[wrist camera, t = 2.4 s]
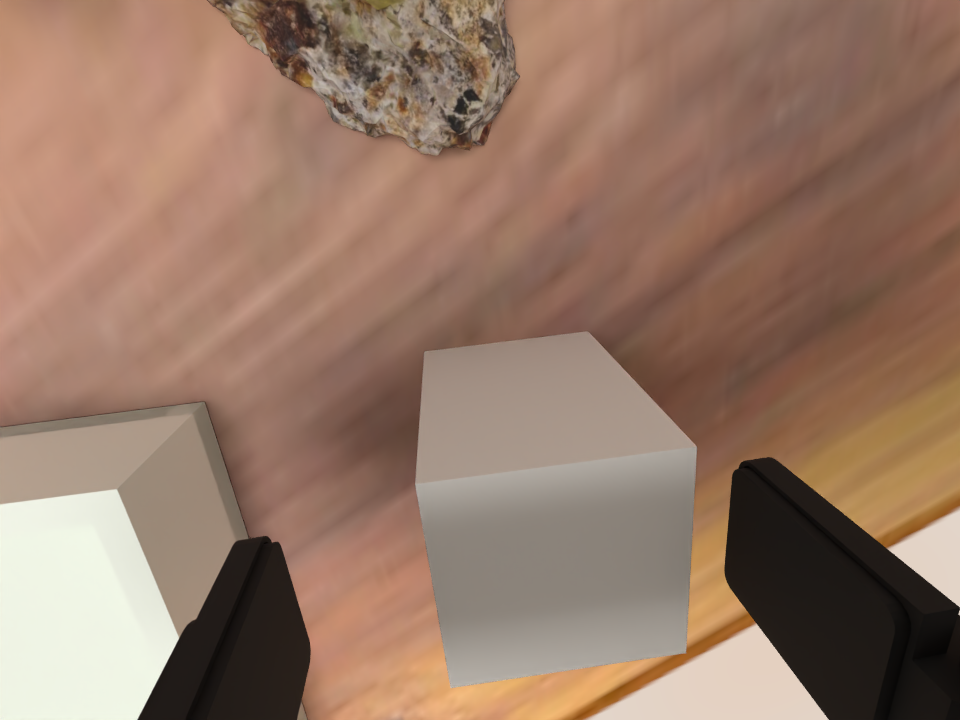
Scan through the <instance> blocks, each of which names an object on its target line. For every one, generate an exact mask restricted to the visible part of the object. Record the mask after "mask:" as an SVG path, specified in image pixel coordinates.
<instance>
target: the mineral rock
mask: <svg viewBox="0 0 960 720" xmlns="http://www.w3.org/2000/svg"><path fill="white" fill-rule="evenodd" d="M207 1H208V2H209V3H210V4H211V5H212V6H213V7H216V8H218V9H219V10H220V11H222V12H223V13H224V14H225V15H226V17H227V18H228V20H229V22H230V23H231V25H232V27H233V28H234V29H235V30H236V31H237V32H238V33H239V34H240V35H243V36H244V37H245V38H246V40H247V43H248V44H249V45H251V46H254V47H256V48H258V49H260V50H261V51H262V52H263V53H264V54H265V55H269V56H270V59H271V61H272V63H273V65H274V66H275V68H276V69H279V70H280V72H281V74H282V75H283V76H286V77H289V79H291V80H293V81H294V82H296V83H298V84H299V85H301V86H303V87H311V88H312V89H313V90H314V91H315V92H316V93H317V94H318V96H319V97H320V98H321V99H322V100H324V102H325V105H326V107H327V110H328V113H329V115H330V116H331V118H332V119H333V121H334V122H336V123H339V124H341V125H343V126H346V127H348V128H350V129H353V130H358V131H364V132H365V134H366V135H367V136H372V137H377V136H380V135H385V134H393V135H395V136H397V137H399V138H400V139H401V140H403V141H404V142H405V143H406V144H407V145H408V146H409V147H412V148H417V149H418V150H419V152H420V153H421V154H430V155H438V154H439V153H440V151H441V150H442V148H443V147H444V148H450V147H458V148H462V149H466V150H470V149H471V146H472V145H484V144H485V142H486V140H487V137H488V134H489V131H490V127H491V124H492V121H493V119H494V117H495V116H496V115H497V114H498V112H499V111H500V108H501V106H502V103H503V101H504V98H505V97H506V96H507V95H508V94H509V93H510V92H511V90H512V88H513V86H514V85H515V83H516V81H517V80H518V79H519V77H520V76H519V75H518V73H517V72H516V71H515V49H514V45H513V40H512V37H511V36H510V35H509V34H508V30H507V26H506V22H505V13H504V1H505V0H207Z"/></svg>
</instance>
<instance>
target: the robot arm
mask: <svg viewBox="0 0 960 720" xmlns="http://www.w3.org/2000/svg"><path fill="white" fill-rule="evenodd" d="M725 577H726V580H727V583H728V585H729V587H730V588H731V590H732V591H733V593H734V594H735V595H736V597H737V598H738V599H739V601H740V602H741V603H742V605H743V606H744V607H745V609H746V610H747V611H748V613H749V614H750V615H751V617H752V618H753V619H754V621H755V622H756V623H757V625H758V626H759V627H760V629H761V630H762V631H763V633H764V634H765V635H766V637H767V638H768V639H769V640H770V642H771V643H772V645H773V646H774V647H775V649H776V650H777V651H778V653H779V654H780V655H781V656H782V658H783V659H784V661H785V662H786V663H787V664H788V666H789V667H790V669H791V670H792V671H793V672H794V674H795V675H796V676H797V678H798V679H799V681H800V682H801V683H802V684H803V686H804V687H805V689H806V690H807V691H808V692H809V694H810V695H811V697H812V698H813V699H814V701H815V702H816V703H817V705H818V706H819V707H820V708H821V710H822V711H823V712H824V714H825V715H826V717H827V718H828V719H829V720H960V615H958V613H959V610H960V607H959V606H957V605H956V604H955V603H953V602H952V601H951V600H950V599H948V598H947V597H946V596H945V595H944V594H942V593H941V592H940V591H939V590H937V589H936V588H935V587H934V586H932V585H931V584H930V583H929V582H927V581H926V580H925V579H924V578H923V577H921V576H920V575H919V574H918V573H916V572H915V571H914V570H912V569H911V568H910V567H909V566H907V565H906V564H905V563H904V562H903V561H901V560H900V559H899V558H898V557H896V556H895V555H894V554H893V553H891V552H890V551H889V550H888V549H886V548H885V547H884V546H883V545H881V544H880V543H879V542H878V541H876V540H875V539H874V538H873V537H872V536H870V535H869V534H868V533H867V532H865V531H864V530H863V529H862V528H860V527H859V526H858V525H857V524H855V523H854V522H853V521H852V520H850V519H849V518H848V517H847V516H845V515H844V514H843V513H842V512H840V511H839V510H838V509H837V508H835V507H834V506H833V505H832V504H830V503H829V502H828V501H827V500H825V499H824V498H823V497H822V496H821V495H819V494H818V493H817V492H816V491H814V490H813V489H812V488H811V487H809V486H808V485H807V484H806V483H804V482H803V481H802V480H801V479H799V478H798V477H797V476H796V475H794V474H793V473H792V472H791V471H789V470H788V469H787V468H786V467H784V466H783V465H782V464H781V463H779V462H778V461H777V460H775V459H774V458H771V457H767V458H760V459H754V460H747V461H743V462H741V464H740V465H739V469H737V470H735V471H734V472H733V475H732V485H731V497H730V509H729V521H728V533H727V545H726V557H725ZM310 655H311V650H310V642H309V638H308V634H307V631H306V628H305V624H304V621H303V618H302V614H301V611H300V608H299V604H298V601H297V598H296V594H295V591H294V588H293V584H292V581H291V578H290V574H289V571H288V568H287V564H286V561H285V557H284V554H283V551H282V548H281V545H280V544H279V542H273V543H272V542H271V540H270V538H269V537H267V536H263V537H256V538H250V539H243V540H238V541H236V542H235V543H234V544H233V546H232V548H231V550H230V552H229V554H228V556H227V558H226V560H225V562H224V564H223V566H222V568H221V570H220V572H219V574H218V576H217V578H216V580H215V582H214V584H213V586H212V588H211V590H210V592H209V594H208V596H207V598H206V600H205V602H204V604H203V606H202V608H201V610H200V612H199V614H198V616H197V618H196V620H192V621H191V622H190V623H189V624H187V626H186V627H185V629H184V630H183V632H182V634H181V635H180V637H179V639H178V641H177V643H176V645H175V647H174V649H173V651H172V653H171V655H170V657H169V659H168V661H167V663H166V665H165V667H164V669H163V671H162V673H161V675H160V676H159V678H158V680H157V682H156V684H155V686H154V688H153V690H152V692H151V694H150V696H149V698H148V700H147V702H146V704H145V706H144V708H143V710H142V712H141V714H140V715H139V717H138V719H137V720H297V718H298V713H299V709H300V704H301V700H302V695H303V691H304V686H305V682H306V677H307V672H308V668H309V663H310Z"/></svg>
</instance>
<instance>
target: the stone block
mask: <svg viewBox="0 0 960 720" xmlns="http://www.w3.org/2000/svg"><path fill="white" fill-rule="evenodd" d="M696 456H697V446H696V445H695V444H694V443H693V442H692V441H691V440H690V439H689V438H688V437H687V436H686V434H685V433H684V432H683V431H682V430H681V429H680V428H679V427H678V426H677V425H676V424H675V423H674V422H673V421H672V420H671V419H670V418H669V416H668V415H667V414H666V413H665V412H664V411H663V410H662V409H661V408H660V407H659V406H658V405H657V404H656V403H655V402H654V401H653V400H652V398H651V397H650V396H649V395H648V394H647V393H646V392H645V391H644V390H643V389H642V388H641V387H640V386H639V385H638V384H637V383H636V381H635V380H634V379H633V378H632V377H631V376H630V375H629V374H628V373H627V372H626V371H625V370H624V369H623V368H622V367H621V366H620V365H619V363H618V362H617V361H616V360H615V359H614V358H613V357H612V356H611V355H610V354H609V353H608V352H607V351H606V350H605V349H604V348H603V347H602V345H601V344H600V343H599V342H598V341H597V340H596V339H595V338H594V337H593V336H592V335H591V334H590V333H589V332H588V331H586V332H578V333H570V334H562V335H554V336H545V337H537V338H529V339H521V340H513V341H505V342H497V343H489V344H481V345H473V346H465V347H457V348H449V349H441V350H433V351H425V352H424V364H423V378H422V393H421V407H420V421H419V436H418V450H417V465H416V479H415V486H416V492H417V498H418V503H419V509H420V515H421V521H422V526H423V532H424V538H425V544H426V549H427V555H428V561H429V567H430V572H431V578H432V584H433V590H434V595H435V601H436V607H437V612H438V618H439V624H440V630H441V635H442V641H443V647H444V653H445V658H446V664H447V670H448V676H449V681H450V687H451V688H454V687H461V686H467V685H474V684H481V683H487V682H494V681H501V680H508V679H514V678H521V677H528V676H534V675H541V674H548V673H555V672H561V671H568V670H575V669H581V668H588V667H595V666H602V665H608V664H615V663H622V662H628V661H635V660H642V659H649V658H655V657H662V656H669V655H675V654H682V653H686V644H687V625H688V606H689V588H690V569H691V550H692V531H693V512H694V493H695V475H696Z"/></svg>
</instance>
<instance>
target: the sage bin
mask: <svg viewBox="0 0 960 720" xmlns="http://www.w3.org/2000/svg"><path fill="white" fill-rule="evenodd" d="M243 539H249V538H248V534H247V531H246V528H245V525H244V522H243V519H242V516H241V513H240V510H239V507H238V504H237V501H236V497H235V494H234V491H233V488H232V485H231V482H230V479H229V476H228V473H227V470H226V467H225V463H224V460H223V457H222V454H221V451H220V448H219V445H218V442H217V439H216V436H215V433H214V430H213V426H212V423H211V420H210V417H209V414H208V411H207V408H206V405H205V402H198V403H190V404H182V405H174V406H166V407H158V408H151V409H143V410H135V411H127V412H119V413H111V414H103V415H95V416H87V417H79V418H71V419H63V420H55V421H47V422H39V423H31V424H23V425H15V426H8V427H0V720H137V719H138V717H139V715H140V714H141V712H142V710H143V708H144V706H145V704H146V702H147V700H148V698H149V696H150V694H151V692H152V690H153V688H154V686H155V684H156V682H157V680H158V678H159V676H160V675H161V673H162V671H163V669H164V667H165V665H166V663H167V661H168V659H169V657H170V655H171V653H172V651H173V649H174V647H175V645H176V643H177V641H178V639H179V637H180V635H181V634H182V632H183V630H184V629H185V627H186V626H187V624H189V623H190V622H191V621H192V620H196V618H197V616H198V614H199V612H200V610H201V608H202V606H203V604H204V602H205V600H206V598H207V596H208V594H209V592H210V590H211V588H212V586H213V584H214V582H215V580H216V578H217V576H218V574H219V572H220V570H221V568H222V566H223V564H224V562H225V560H226V558H227V556H228V554H229V552H230V550H231V548H232V546H233V544H234V543H235V542H236V541H238V540H243ZM297 720H307V717H306V714H305V711H304V707H303V704H302V701H301V704H300V709H299V713H298V718H297Z"/></svg>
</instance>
